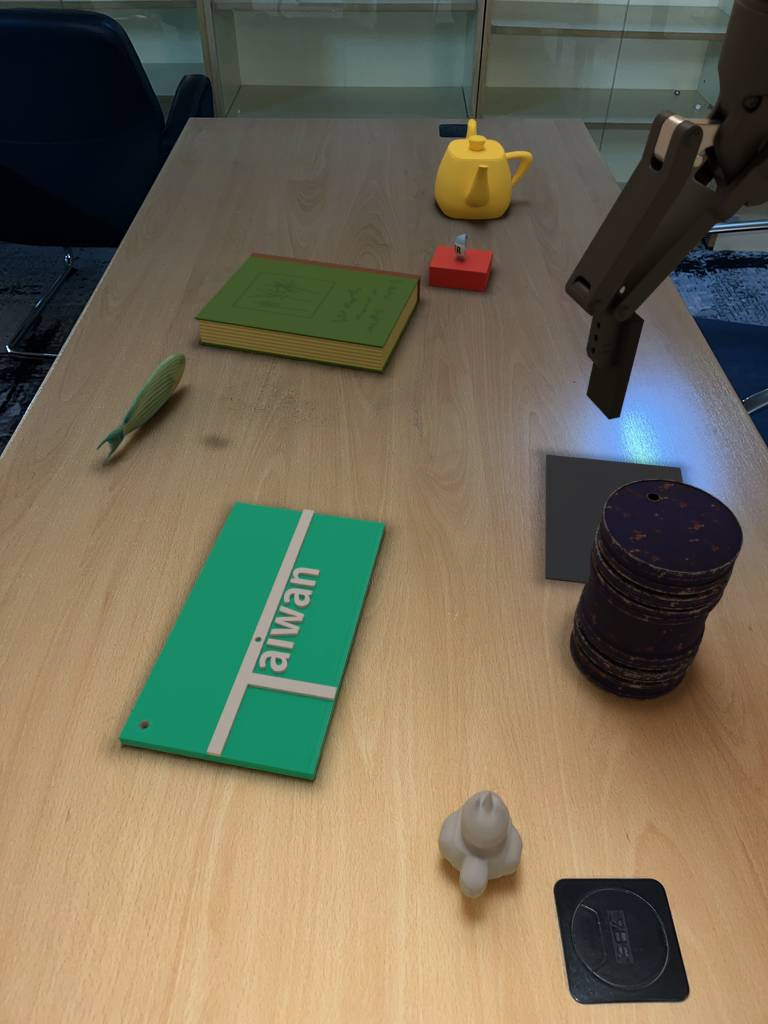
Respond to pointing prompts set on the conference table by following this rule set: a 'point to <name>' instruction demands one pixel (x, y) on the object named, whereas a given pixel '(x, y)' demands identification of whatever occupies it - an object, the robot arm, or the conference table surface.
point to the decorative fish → (149, 399)
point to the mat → (584, 507)
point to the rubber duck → (480, 842)
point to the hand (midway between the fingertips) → (697, 386)
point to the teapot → (477, 177)
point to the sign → (261, 642)
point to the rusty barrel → (652, 586)
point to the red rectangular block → (460, 266)
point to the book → (311, 311)
